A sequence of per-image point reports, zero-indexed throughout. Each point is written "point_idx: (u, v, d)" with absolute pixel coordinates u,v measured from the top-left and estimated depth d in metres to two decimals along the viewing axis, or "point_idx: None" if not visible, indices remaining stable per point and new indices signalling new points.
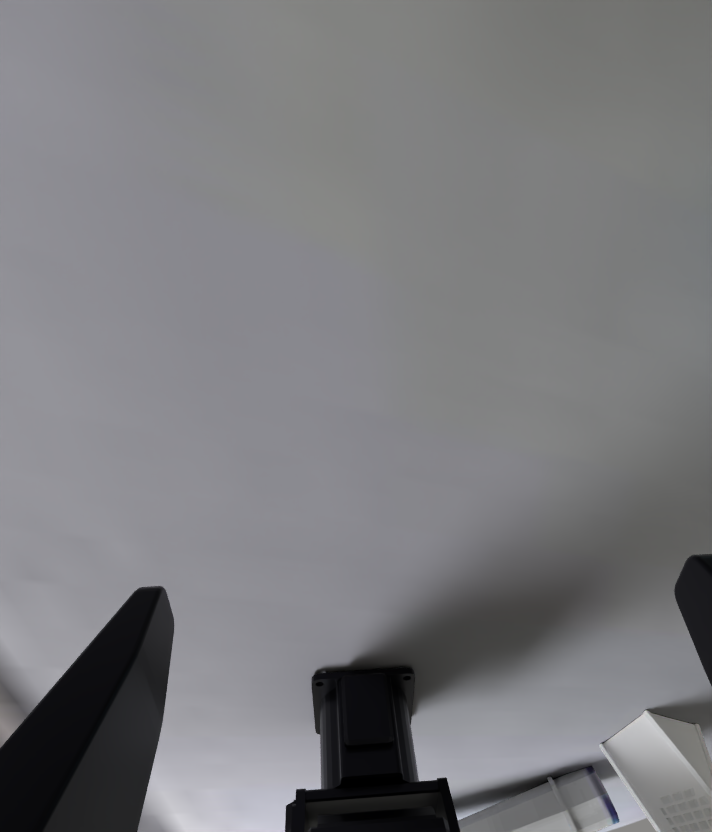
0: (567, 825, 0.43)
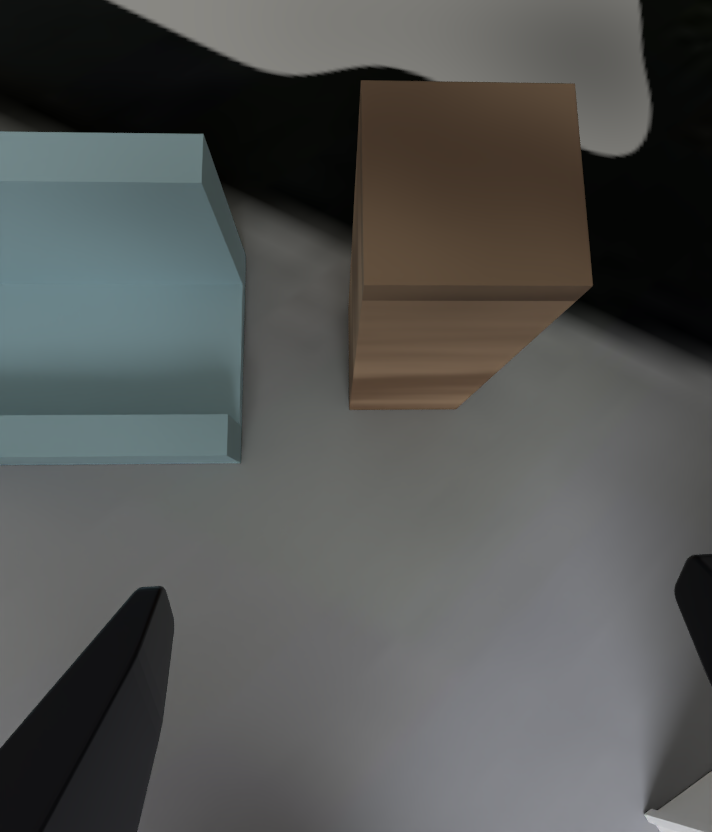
0: None
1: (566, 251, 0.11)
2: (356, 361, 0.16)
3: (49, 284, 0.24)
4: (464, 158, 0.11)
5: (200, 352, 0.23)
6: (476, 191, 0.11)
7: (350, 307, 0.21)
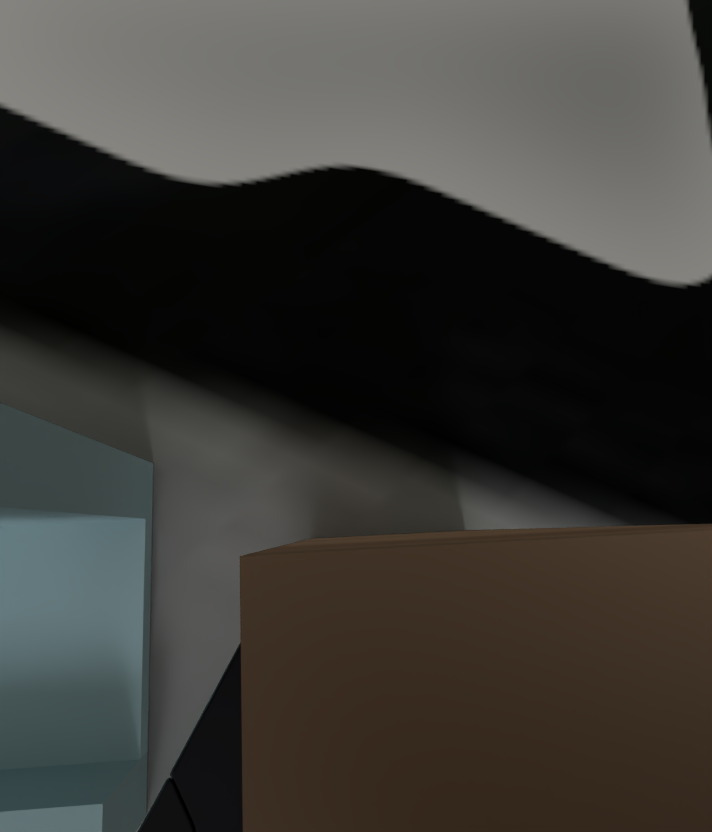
0: None
1: None
2: None
3: None
4: None
5: (78, 636, 0.15)
6: None
7: None
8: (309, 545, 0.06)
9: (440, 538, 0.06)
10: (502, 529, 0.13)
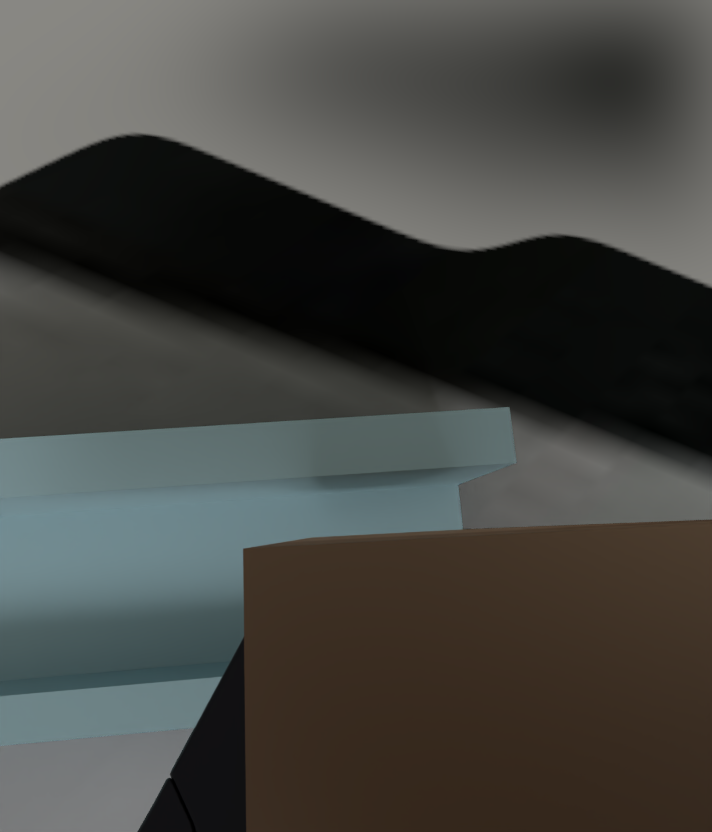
0: None
1: None
2: None
3: (260, 499, 0.23)
4: None
5: None
6: None
7: None
8: (310, 541, 0.06)
9: (441, 534, 0.06)
10: None
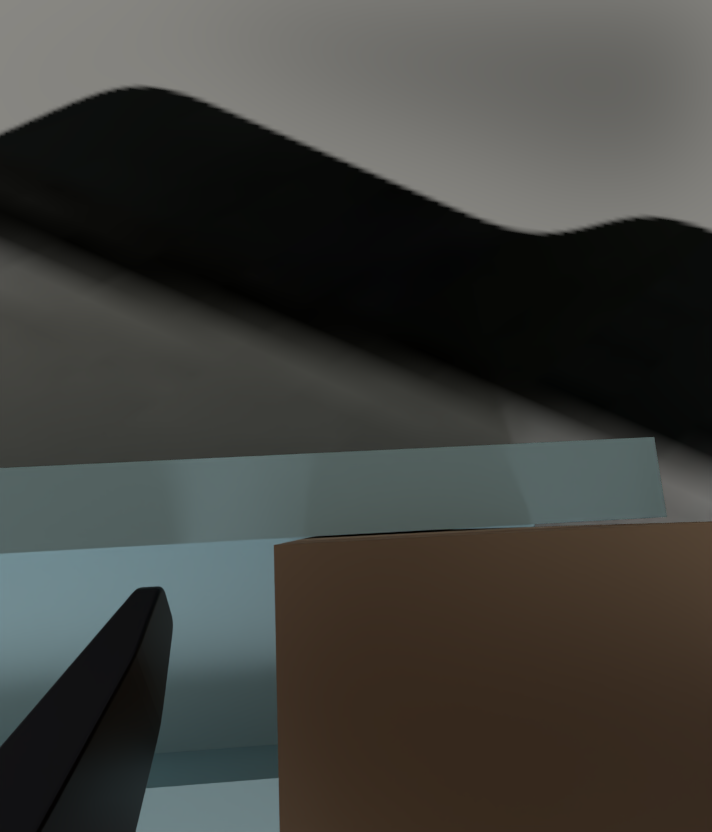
0: None
1: None
2: None
3: (287, 537, 0.18)
4: (512, 735, 0.05)
5: None
6: (544, 825, 0.05)
7: None
8: None
9: None
10: (481, 528, 0.14)
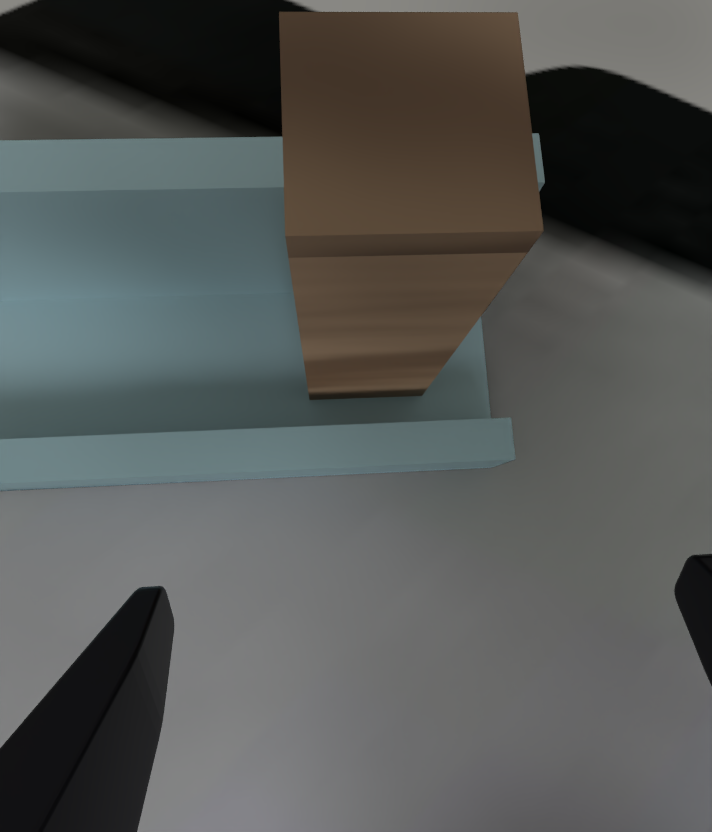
0: None
1: (513, 194, 0.10)
2: (302, 339, 0.15)
3: (285, 293, 0.23)
4: (396, 94, 0.10)
5: None
6: (410, 130, 0.10)
7: None
8: None
9: None
10: None
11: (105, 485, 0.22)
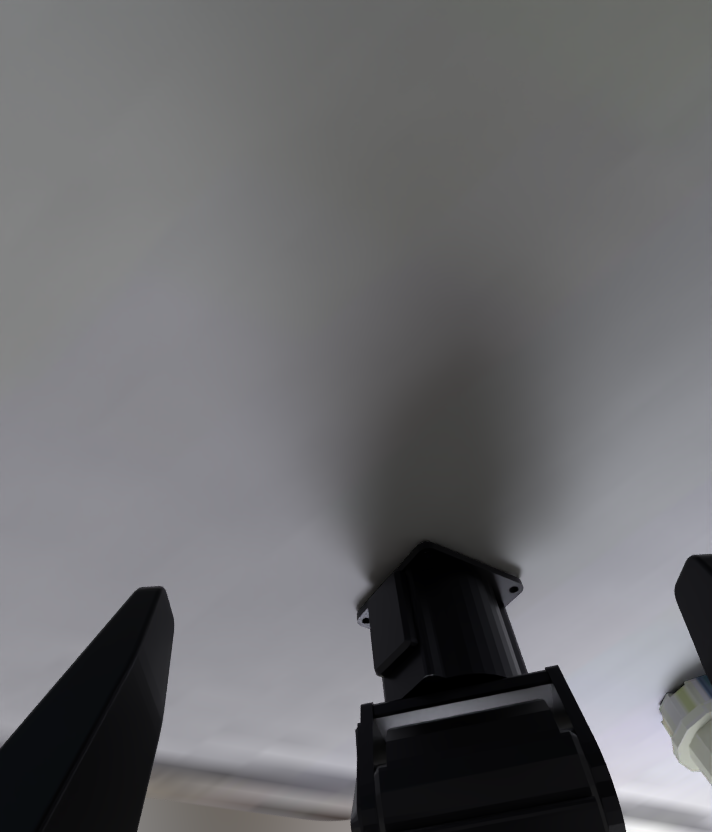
0: None
1: None
2: None
3: None
4: None
5: None
6: None
7: None
8: None
9: None
10: None
11: None
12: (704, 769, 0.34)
